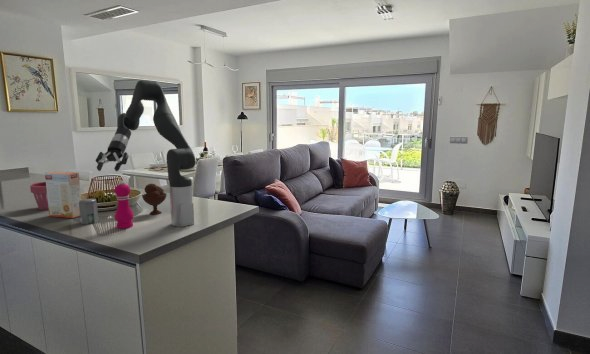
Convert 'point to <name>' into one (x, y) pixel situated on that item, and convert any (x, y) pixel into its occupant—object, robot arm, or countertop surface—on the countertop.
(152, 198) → the ice cream bowl
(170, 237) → the countertop surface
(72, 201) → the cracker box
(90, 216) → the mint green cube
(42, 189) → the plant pot
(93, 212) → the charcoal cup
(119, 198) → the pepper mill
